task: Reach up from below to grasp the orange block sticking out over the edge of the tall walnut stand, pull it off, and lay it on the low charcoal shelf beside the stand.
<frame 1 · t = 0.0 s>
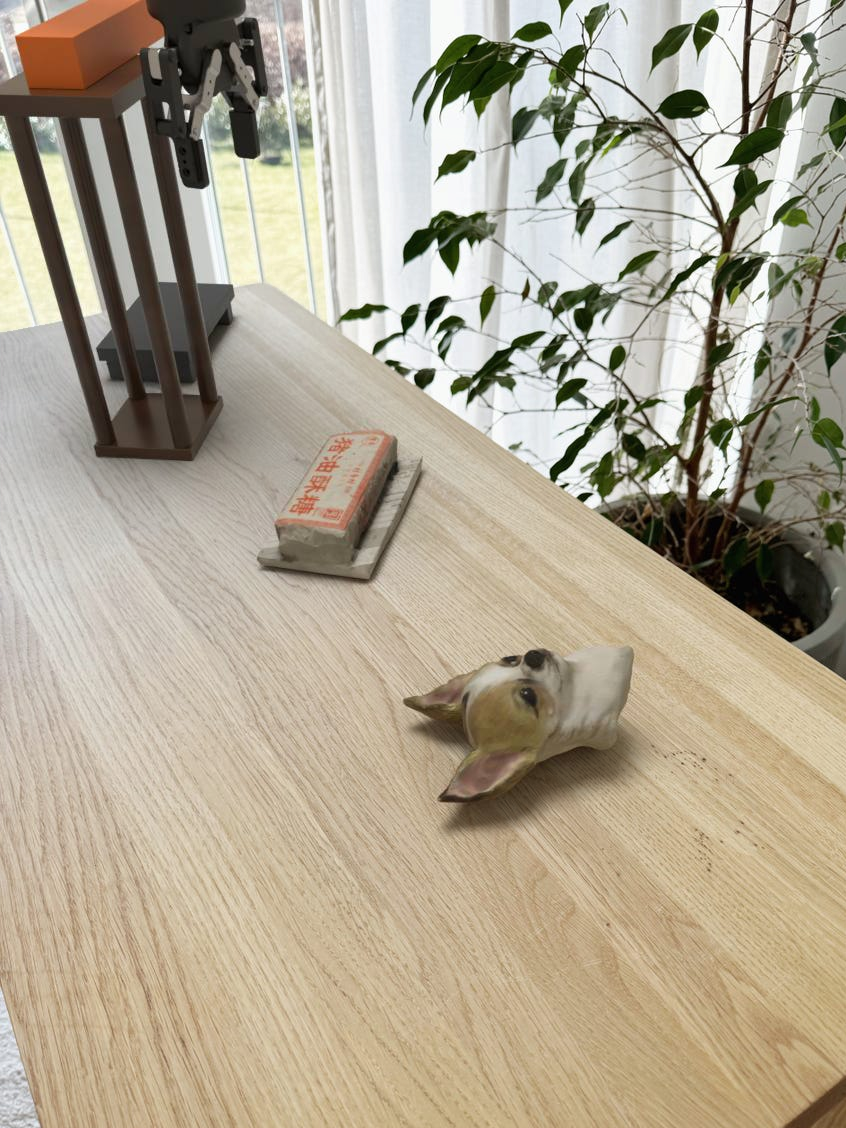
hand: (223, 171, 86), 24 cm above the table, tool pointing down, fingers open, 8 cm apart
packaged product: (346, 517, 90), on the table
low shelf: (175, 347, 116), on the table
ceramic sculpture: (524, 748, 69), on the table
tall stand: (163, 427, 102), on the table
orange block: (103, 59, 84), point 32 cm above the table, touching tall stand
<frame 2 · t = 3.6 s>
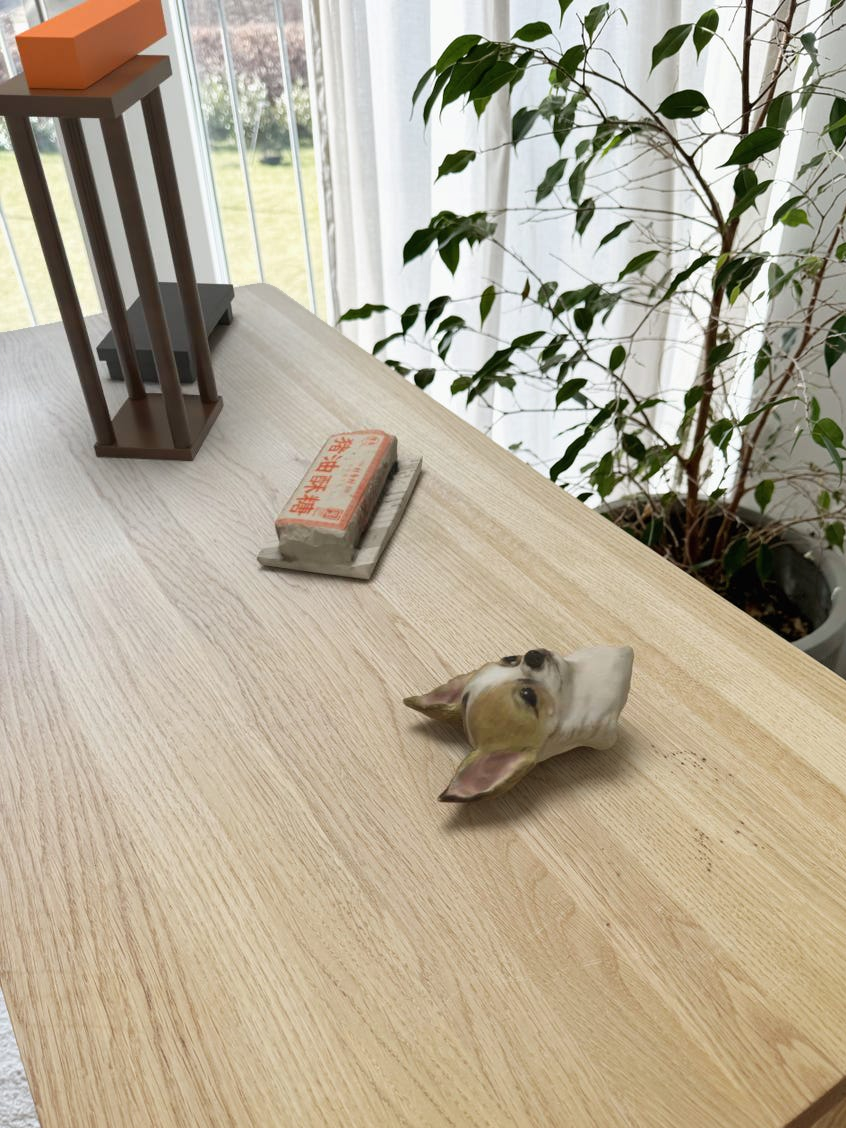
nothing on the table moved.
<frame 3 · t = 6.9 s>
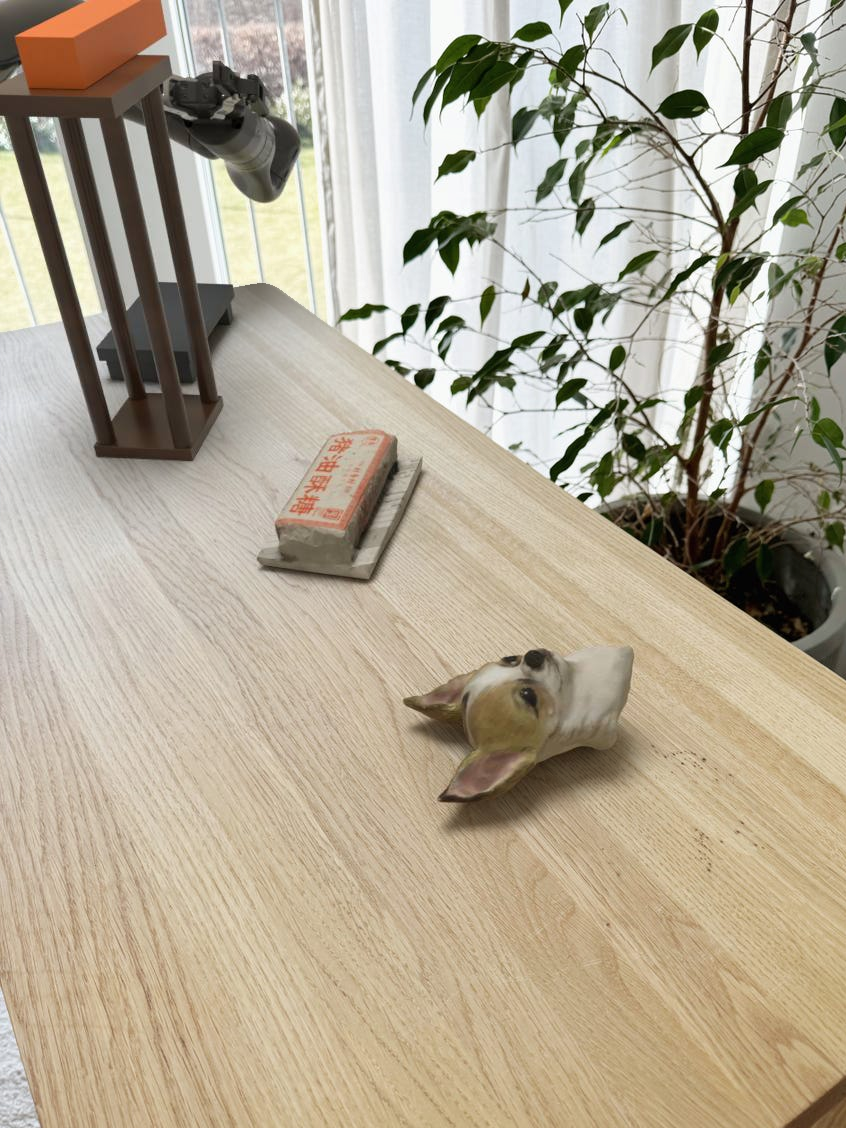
hand: (173, 70, 99), 28 cm above the table, tool pointing upward, fingers open, 8 cm apart
nothing on the table moved.
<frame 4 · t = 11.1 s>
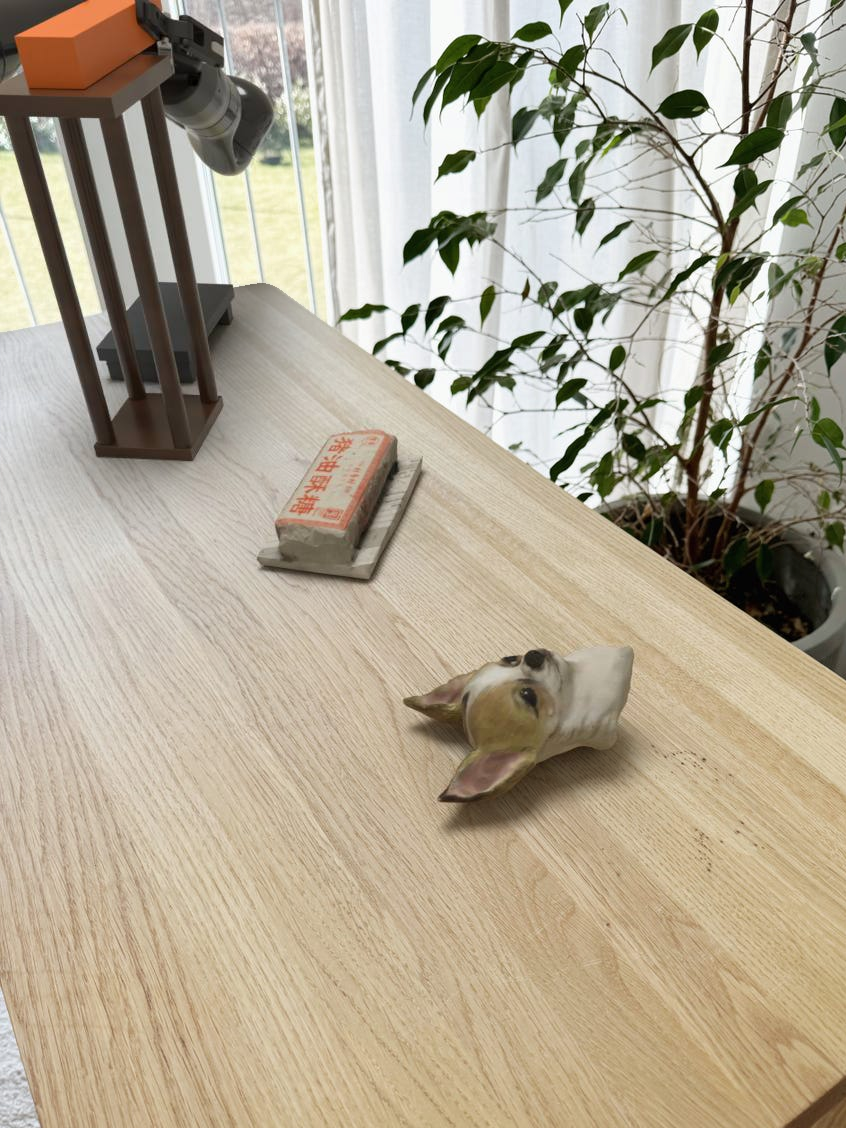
hand: (109, 8, 85), 35 cm above the table, tool pointing upward, fingers closed on orange block, 4 cm apart
orange block: (103, 59, 84), point 32 cm above the table, touching gripper, tall stand
everything else where it was.
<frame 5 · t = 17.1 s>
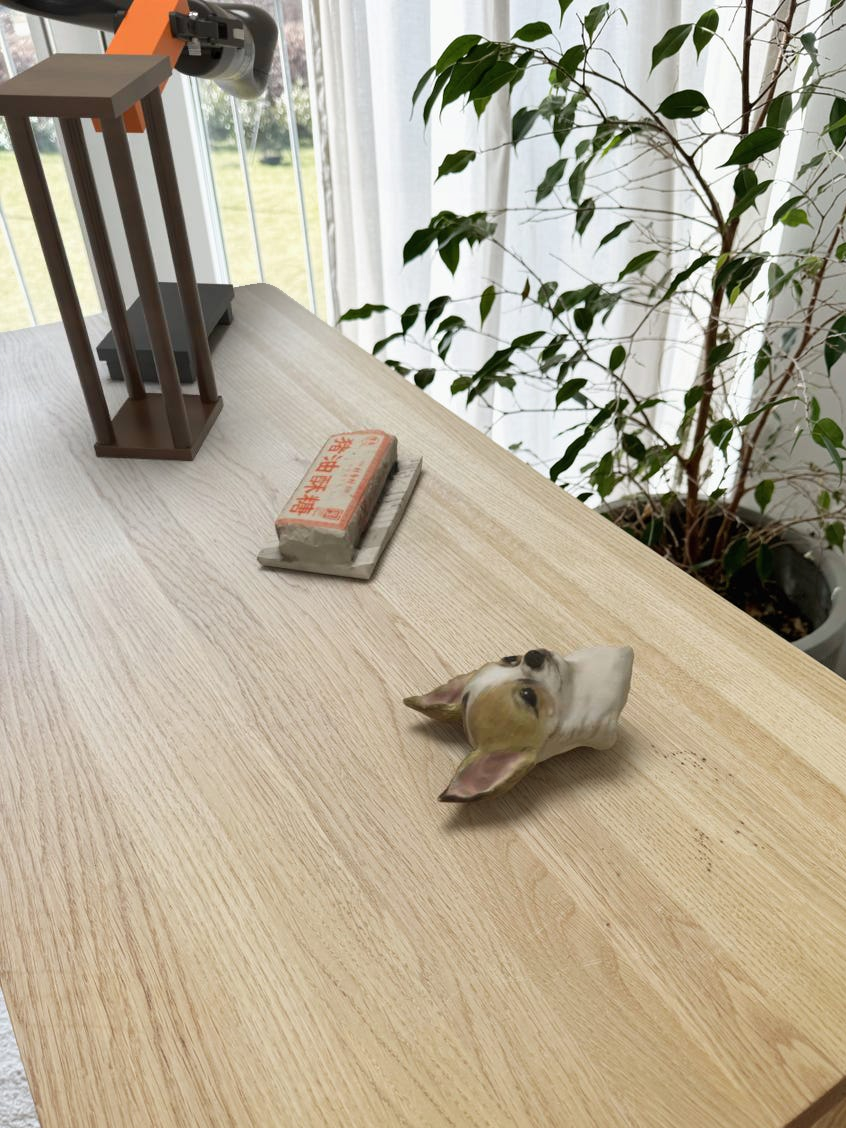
hand: (147, 24, 97), 32 cm above the table, tool pointing upward, fingers closed on orange block, 4 cm apart
orange block: (147, 76, 97), point 28 cm above the table, tilted 15°, touching gripper
everything else where it was.
when the fingers open (10 cm above the table, at t = 22.9 s): orange block drops 3 cm, resting on low shelf.
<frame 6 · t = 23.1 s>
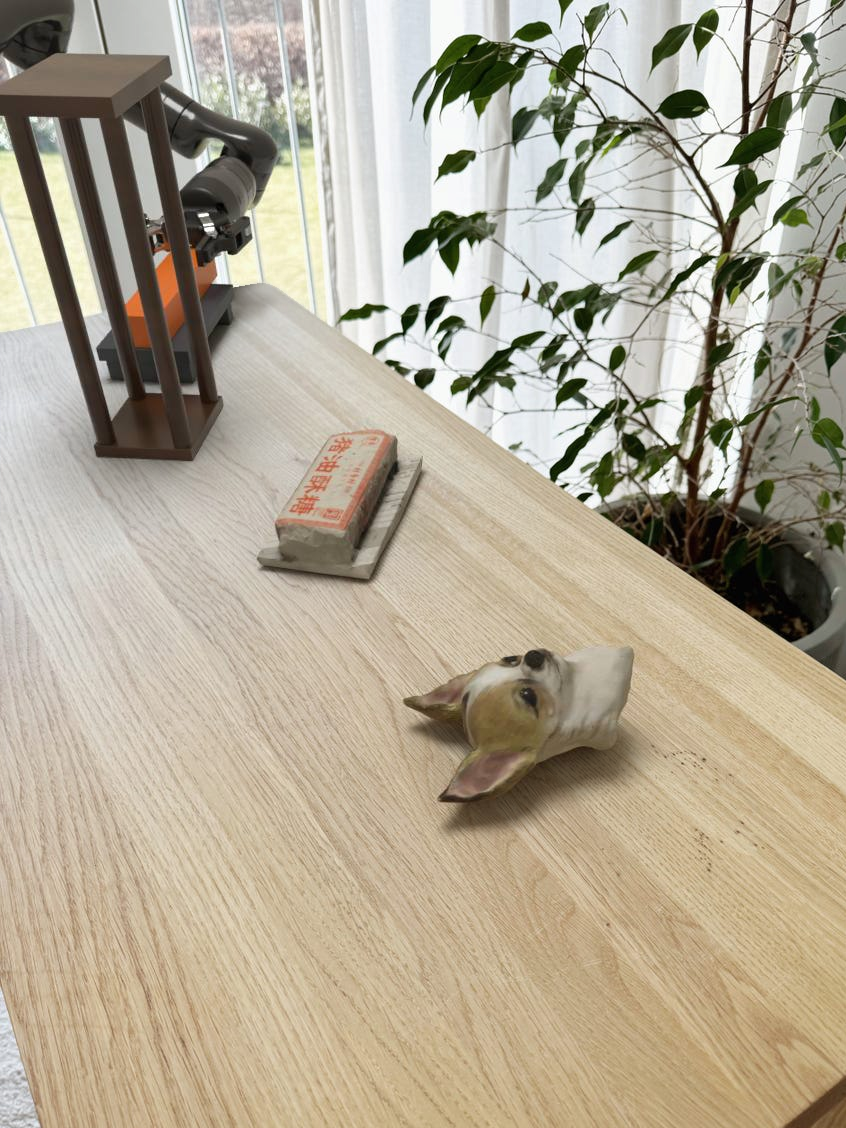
hand: (169, 257, 112), 9 cm above the table, tool horizontal, fingers open, 6 cm apart
orange block: (173, 308, 114), point 4 cm above the table, touching low shelf
everything else where it was.
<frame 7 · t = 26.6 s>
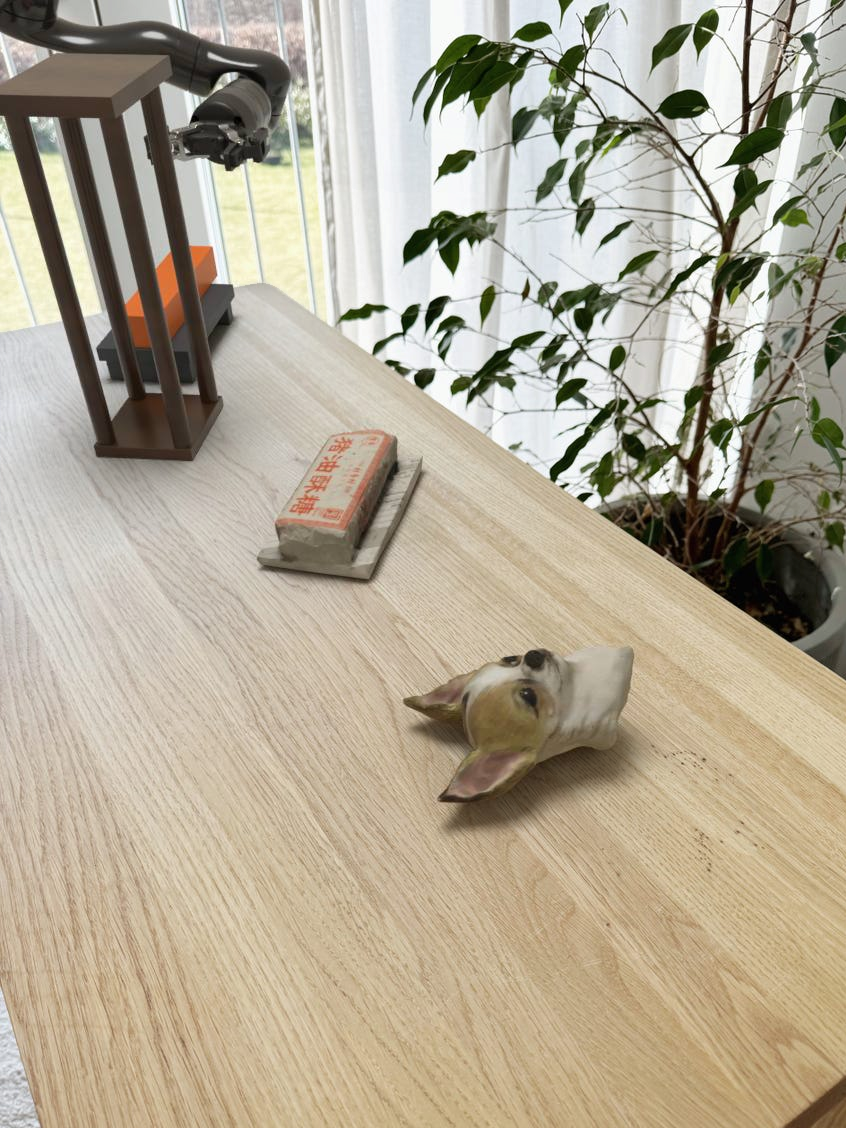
hand: (190, 161, 117), 16 cm above the table, tool horizontal, fingers open, 8 cm apart
nothing on the table moved.
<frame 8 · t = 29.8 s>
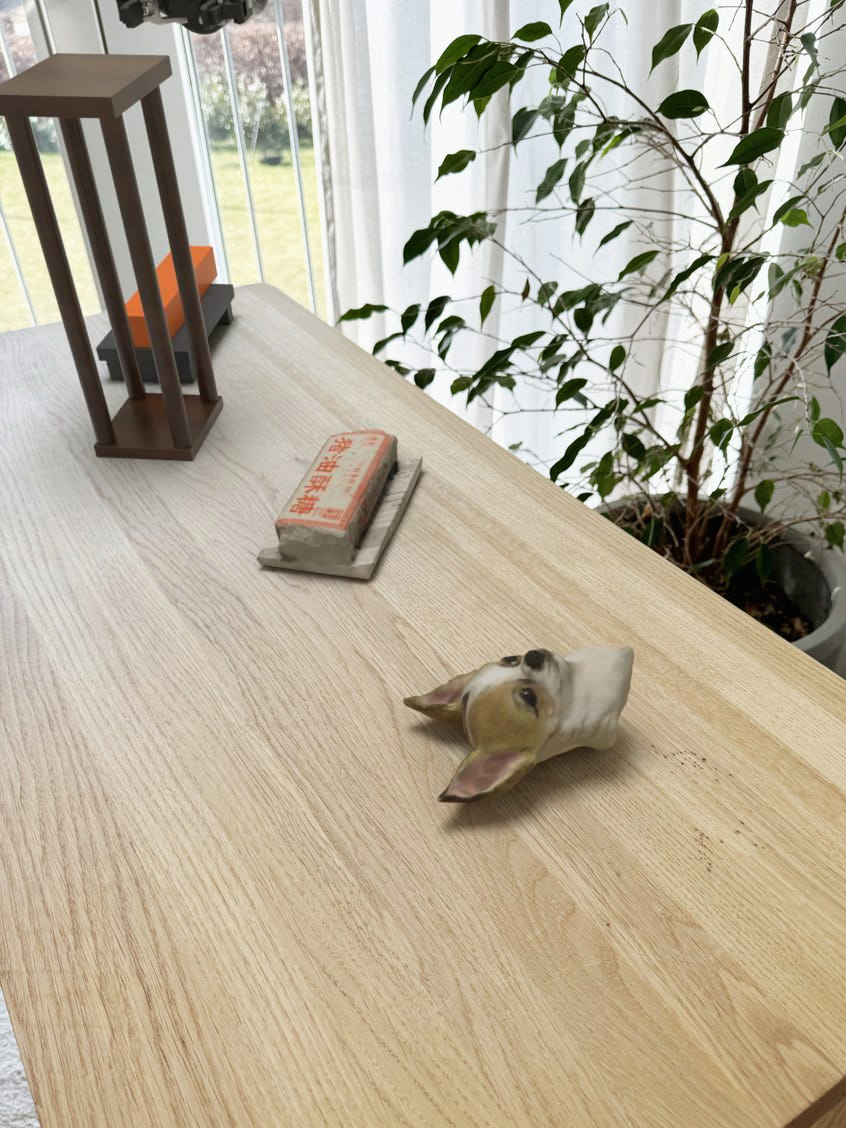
hand: (165, 18, 108), 30 cm above the table, tool horizontal, fingers open, 8 cm apart
nothing on the table moved.
at the end: orange block inside the target area on the low shelf (1.4 cm from its centre), point 4.0 cm above the low shelf's base; orange block touching low shelf; the gripper is holding nothing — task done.
